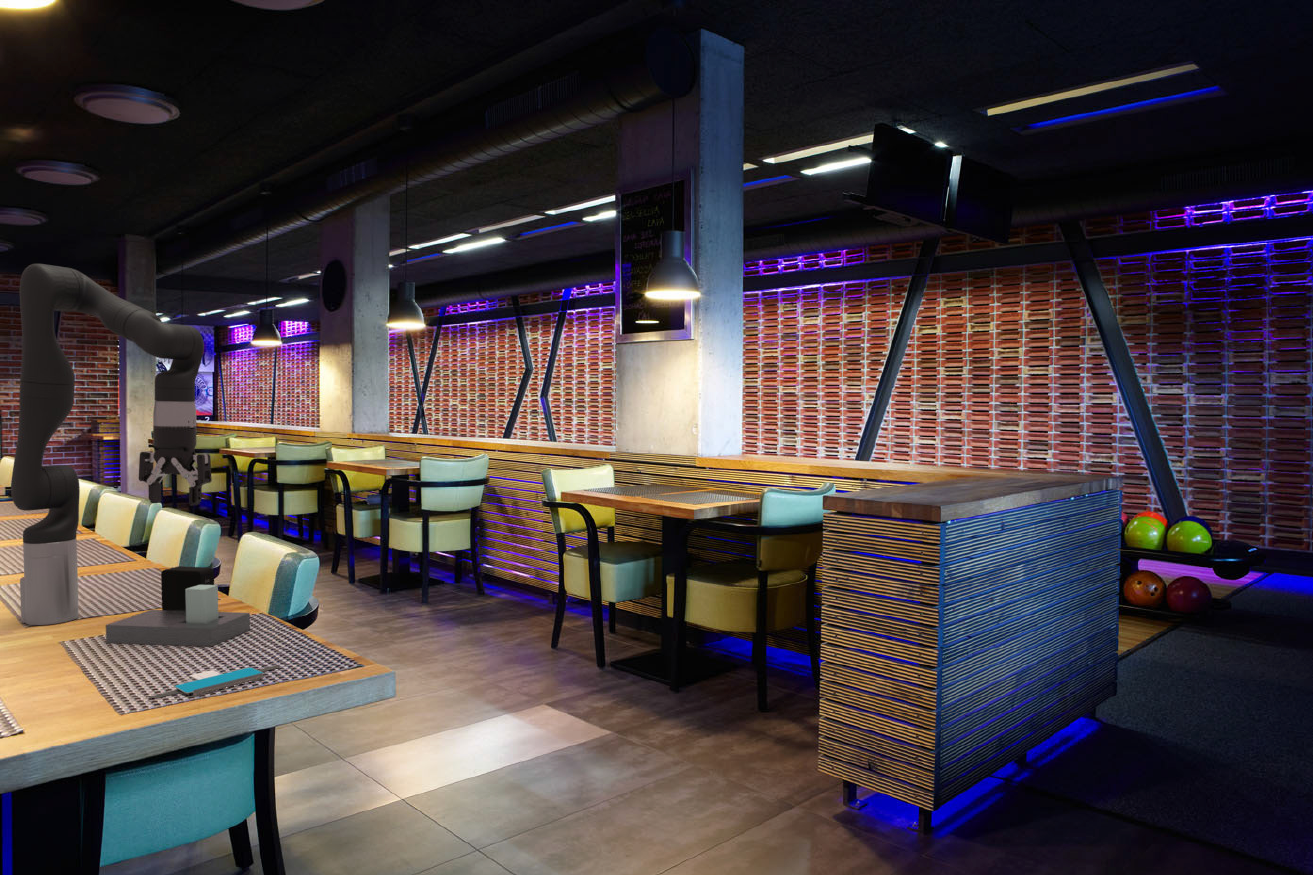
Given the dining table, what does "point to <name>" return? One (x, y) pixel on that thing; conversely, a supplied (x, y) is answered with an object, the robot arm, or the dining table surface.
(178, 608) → the electronic device
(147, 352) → the robot arm
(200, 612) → the sage green square post
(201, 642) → the grey peg hole base
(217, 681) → the teal bar with rods
